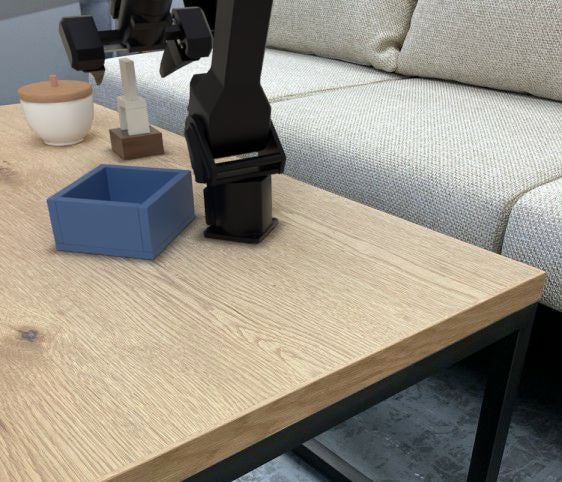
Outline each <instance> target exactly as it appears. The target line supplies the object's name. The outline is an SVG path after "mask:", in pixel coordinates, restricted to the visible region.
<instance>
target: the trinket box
mask: <svg viewBox="0 0 562 482" xmlns="http://www.w3.org/2000/svg"><path fill="white" fill-rule="evenodd" d="M48 77H49V80H44V81H38V82H32V83H29V84H25V85H23V86H20V87H19V88H18V89H17V97H18V99H19V102H20V107H21V111H22V114H23V116H24V119H25V121H26V124H27V126H28V127H29V129H30V130H31V131H32V132H33V134H34V135H35V136H36V137H38V138H39V139H41V140H42V141H43V143H44V144H45V145H48V146H54V147H60V146H61V147H62V146H63V147H64V146H71V145H77V144H80V143H82V142H83V141H85V140H86V139H85V137H86V136H87V134H88V133H89V132H90V131H91V128H92V125H93V124H94V119H95V118H94V117H95V103H94V97H93V86H92V84H91V83H89V82H88V81H84V80H83V81H82V80H76V79H75V80H73V79H58V77H57V74H50V75H49V76H48Z"/></svg>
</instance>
